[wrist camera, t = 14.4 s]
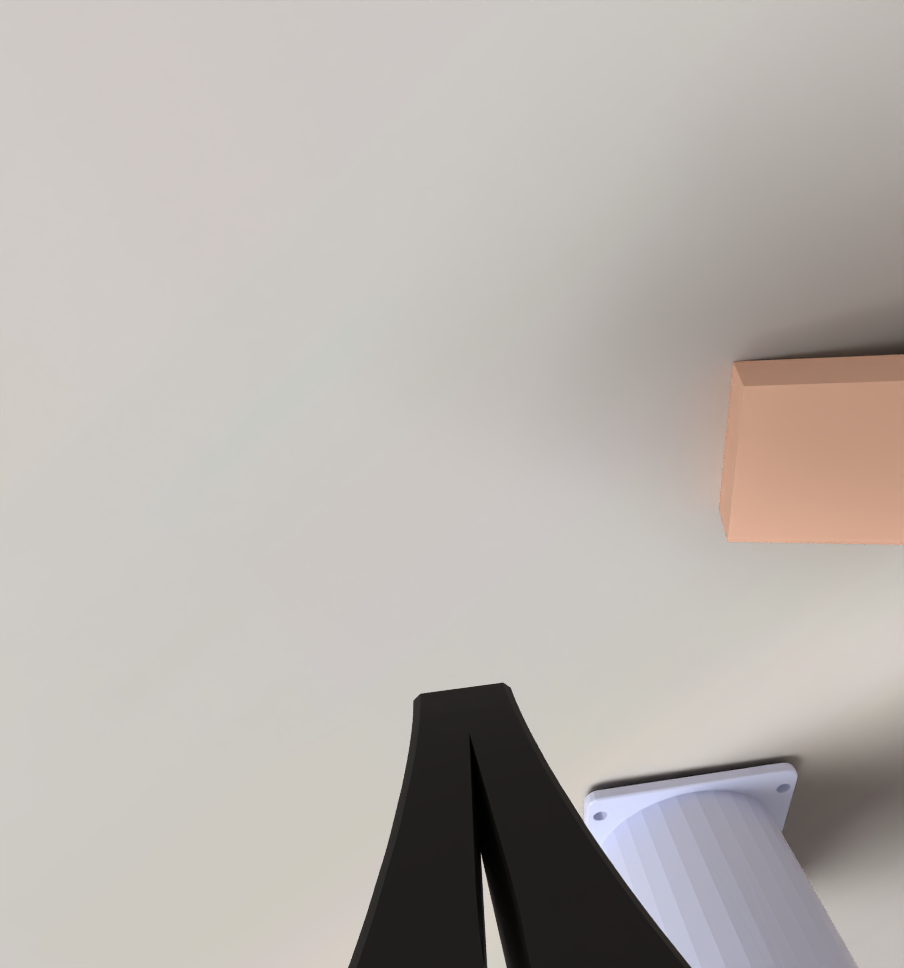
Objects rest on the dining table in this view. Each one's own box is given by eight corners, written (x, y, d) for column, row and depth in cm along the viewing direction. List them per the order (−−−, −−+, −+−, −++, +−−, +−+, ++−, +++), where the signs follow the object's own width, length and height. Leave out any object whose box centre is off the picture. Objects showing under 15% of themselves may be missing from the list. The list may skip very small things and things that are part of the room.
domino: (733, 361, 17) (1033, 348, 15) (718, 508, 19) (979, 510, 17) (743, 386, 15) (1074, 374, 14) (727, 541, 17) (1011, 546, 16)
